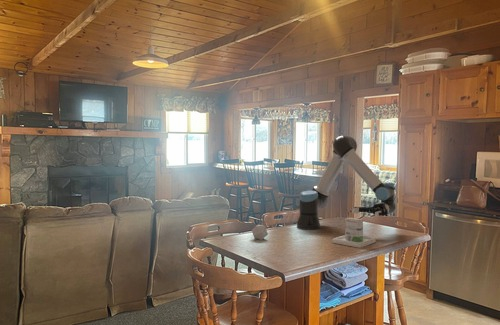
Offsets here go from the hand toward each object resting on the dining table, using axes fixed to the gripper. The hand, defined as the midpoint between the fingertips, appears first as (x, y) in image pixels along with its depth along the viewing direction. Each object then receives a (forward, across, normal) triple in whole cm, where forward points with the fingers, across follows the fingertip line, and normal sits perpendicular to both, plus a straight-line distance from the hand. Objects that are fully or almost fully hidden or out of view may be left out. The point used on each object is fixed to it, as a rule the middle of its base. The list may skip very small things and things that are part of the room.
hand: (364, 212), depth 213 cm
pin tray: (+10, 0, -15) cm, 18 cm away
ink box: (+10, 0, -14) cm, 17 cm away
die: (+40, +42, -17) cm, 60 cm away
